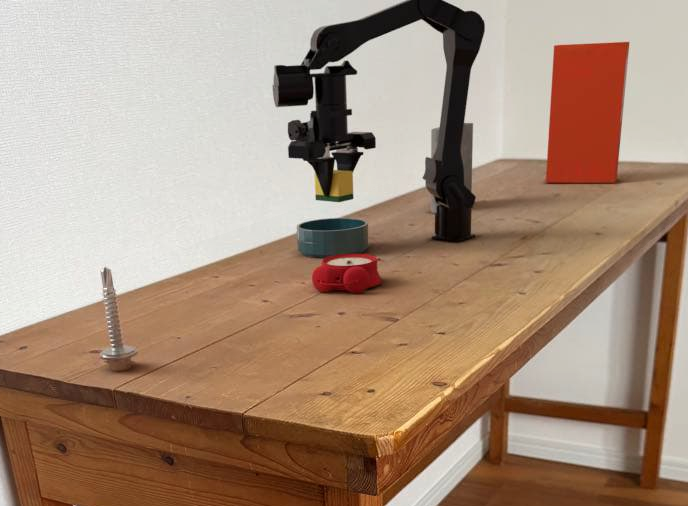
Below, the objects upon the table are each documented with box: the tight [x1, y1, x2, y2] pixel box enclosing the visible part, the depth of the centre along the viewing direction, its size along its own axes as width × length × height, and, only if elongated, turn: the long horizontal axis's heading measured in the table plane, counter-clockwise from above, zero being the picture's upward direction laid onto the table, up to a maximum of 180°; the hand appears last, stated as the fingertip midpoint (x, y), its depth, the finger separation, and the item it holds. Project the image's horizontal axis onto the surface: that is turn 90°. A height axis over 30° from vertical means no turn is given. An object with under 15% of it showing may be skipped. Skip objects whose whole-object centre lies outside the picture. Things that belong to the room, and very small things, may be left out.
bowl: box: [296, 217, 370, 259], centre depth 182 cm, size 14×14×5 cm
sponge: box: [314, 169, 354, 203], centre depth 178 cm, size 6×4×5 cm
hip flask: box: [430, 122, 474, 214], centre depth 216 cm, size 16×4×20 cm, turn 144°
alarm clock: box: [311, 253, 382, 294], centre depth 155 cm, size 10×6×15 cm
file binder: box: [545, 41, 630, 184], centre depth 239 cm, size 8×17×32 cm, turn 71°
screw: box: [99, 266, 138, 372], centre depth 120 cm, size 13×5×5 cm
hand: (334, 194), depth 179 cm, fingers closed on sponge, 4 cm apart
